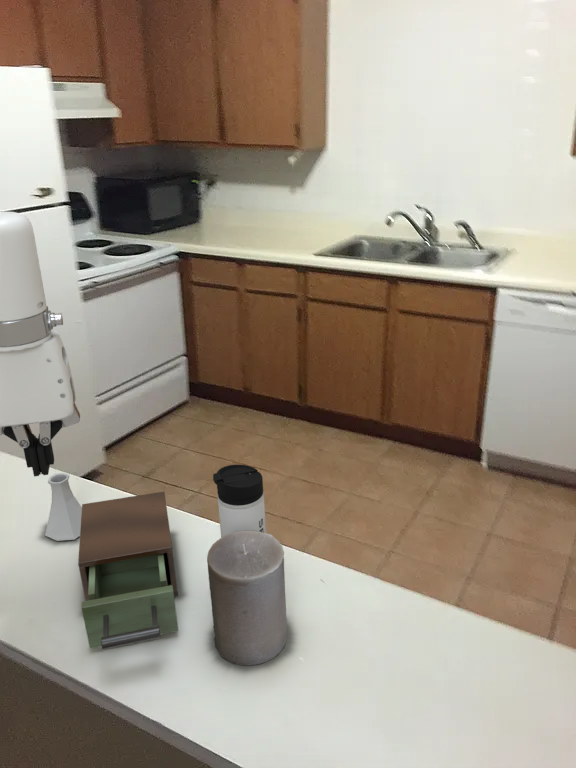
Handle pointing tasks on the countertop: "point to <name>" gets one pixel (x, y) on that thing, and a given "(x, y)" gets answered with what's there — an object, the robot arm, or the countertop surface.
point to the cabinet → (125, 533)
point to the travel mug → (240, 499)
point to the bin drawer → (129, 602)
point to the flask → (63, 510)
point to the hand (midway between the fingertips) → (42, 469)
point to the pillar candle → (248, 597)
